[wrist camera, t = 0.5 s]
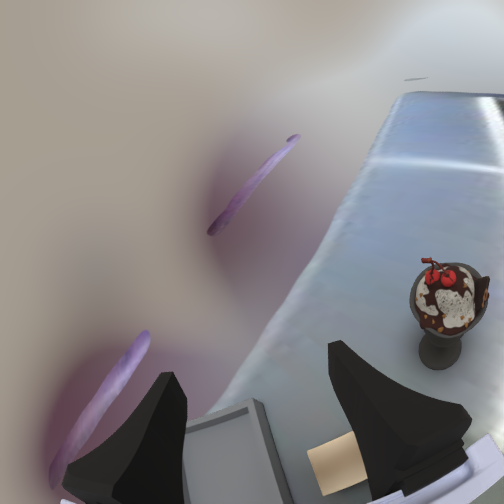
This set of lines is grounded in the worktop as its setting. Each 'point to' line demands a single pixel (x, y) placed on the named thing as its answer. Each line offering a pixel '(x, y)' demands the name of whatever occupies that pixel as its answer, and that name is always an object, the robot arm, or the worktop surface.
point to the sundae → (447, 309)
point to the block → (338, 464)
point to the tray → (233, 459)
